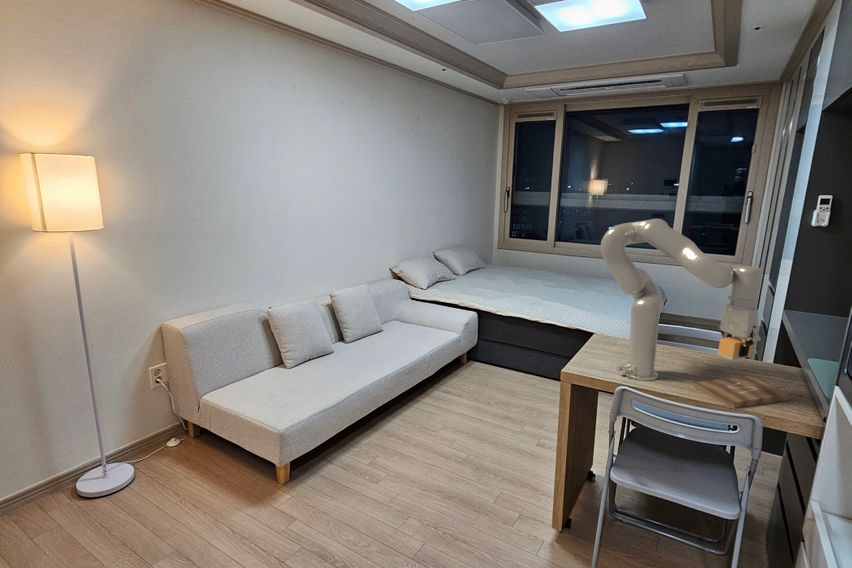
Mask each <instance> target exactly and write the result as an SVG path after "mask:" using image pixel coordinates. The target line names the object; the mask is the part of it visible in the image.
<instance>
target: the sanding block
mask: <svg viewBox="0 0 852 568" xmlns="http://www.w3.org/2000/svg"><path fill="white" fill-rule="evenodd" d="M752 339H753V338H751V340H752ZM746 341H747V339H746ZM718 344H719V345H718V351H717V356H719V357H722V358H725V359H727V360H729V361H735V360H739V359H740V360H741V359H745V358H749V357H752V355H753V354H752V353H753V350H754V349H753V348H754V344H753V345H752V346H750V347H749V353H748V356H746V357H739V352H740V346H741V345H742V338H740V337H737V336H734V335H733V336H732V337H727V338H720V339H719V343H718Z"/></svg>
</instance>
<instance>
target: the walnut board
mask: <svg viewBox="0 0 852 568" xmlns="http://www.w3.org/2000/svg"><path fill="white" fill-rule="evenodd" d="M693 387H694V388H695V389H696V390H698V391H700V392H703V393H705V395H708V396H710V397H712V398H714V399H716V400H718V401H719V402H721V403H723V404H725V405H727V406H729V407H731V408H732V409H736V408H744V407H750V406H751V407H752V406H757V405H764V404H770V403H777V402H783V401H791V399H792V395H793V394H792V393H790V392H788V391H785V390H784V389H780V388H778V387H775V386H773V385H772V384H771V385H770V384H768V383H767V382H764V381H762V380H759V379H757V378H755V377H753V376H750V375H742V376H735V377H734V376H732V377H727V378H726V377H725V378H719V379H711V380H702V381H695V382H694V386H693Z"/></svg>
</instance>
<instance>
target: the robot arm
mask: <svg viewBox="0 0 852 568" xmlns="http://www.w3.org/2000/svg"><path fill="white" fill-rule="evenodd" d="M643 243H648V244H649V245H650V246H652V247H654V248H656V249H657V250H659V251H660V252H661V253H663V254H664V255H666V256H668V257H670V258H671V259H672V260H674V261H675V262H676V263H677V264H679V265H680V266H681V267H682V268H683V269H685V270H687V272H689V273H690V274H691V275H693V276H695V277H696V278H698V279H699V280H700V281H702V282H704V283H706V284H707V285H709V286H710V287H712V288H715V289H723V288H728V286H729V285H732V286H731V292H730V295H729V296H728V297H727V298H728V300H729V303H727V304H726V306H725V308H724V310H723V313H722V316H721V321H720V323H719V324H718V325H717V329H718V330H719V332H720V334H721V336H722V338H727V337H733V336H737V337H740V338H742V345H741V346H740V352H739V357H745V358H747V357H746V356H748V353H749V347H750V346H752V345H753V346H754V344H756V343H759V342H761V340H762V339H761V337H760V335H759V333H758V326H759V309H758V308H757V307H758V300H759V295H760V289H761V283H762V279H763V269H762V268H760V267H757V266H755V265H754V266H752V265H738V264H737V265H736V264H732V263H727V262H717V261H715V260H714V259H712V258H711V257H710V256H708V255H707V254H705V253H704V252H703V251H702V250H701V249H700V248H699V247H698V246H697V245H696V243H695V242H694V241H692V240H691V239H690V238H688V237H687V236H685V235H683V234H681V233H680V232H678V231H677V230H675V229H673V228H672V227H670V226H669V225H668V222H667V221H665V220H663V219H661V218H652V219H646V220H640V221H634V222H626V223H625V222H624V223H620V224H616V225H613V226H612V227H610V228H609V229H608V230H607V231H606V232H605V234H603V236H602V239H601V242H600V253H601V257H602V258H603V260H604V262H605V264H606V266H607V268H608V269H609V271H610V273H611V274H612V276H613V278H614V279H615V281H616V283H617V284H618V287H619V288H620V290H621V291H622V292H623V293H624V294H626V295H628V296H632V299H634V301H633V303H632V305H631V309H630V331H629V341H628V343H629V344H628V353H627V360H626V361H625V362H624V364H623V365H616V366H615V370H616V371H617V372H622V374H623V375H624V376H625V377H628V378H630V379H631V380H637V381H646V382H648V381H649V382H651V381H655V380H657V379H658V377H659V373H658V372H657V371H656V370H655V362H656V354H657V346H658V335H659V323H660V316H661V315H660V314H661V312H662V311H663V309H664V307H665V301H664V298H663V295H662V294H661V292H660V290H659V289H658V287H657V286H656V284H655V282H654V281H653V279H652V277H651V276H650V274H649V273H648V272H647V271H646V270H645V269H643V268H641V267H636V265H635V263H634V262H633V259H632V258H631V257H630V255H629V254H628V252H627V251H626V246H628V245H633V244H643ZM722 338H721V339H722ZM746 339H747V341H746ZM751 339H752V340H751Z"/></svg>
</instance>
